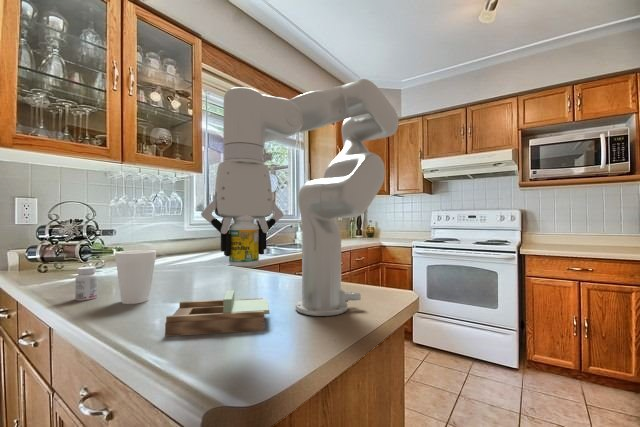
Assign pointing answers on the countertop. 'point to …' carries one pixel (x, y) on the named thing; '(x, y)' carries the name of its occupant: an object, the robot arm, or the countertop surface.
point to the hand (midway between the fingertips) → (243, 253)
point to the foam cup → (135, 274)
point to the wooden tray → (211, 319)
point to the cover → (243, 304)
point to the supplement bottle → (244, 242)
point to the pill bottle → (86, 283)
